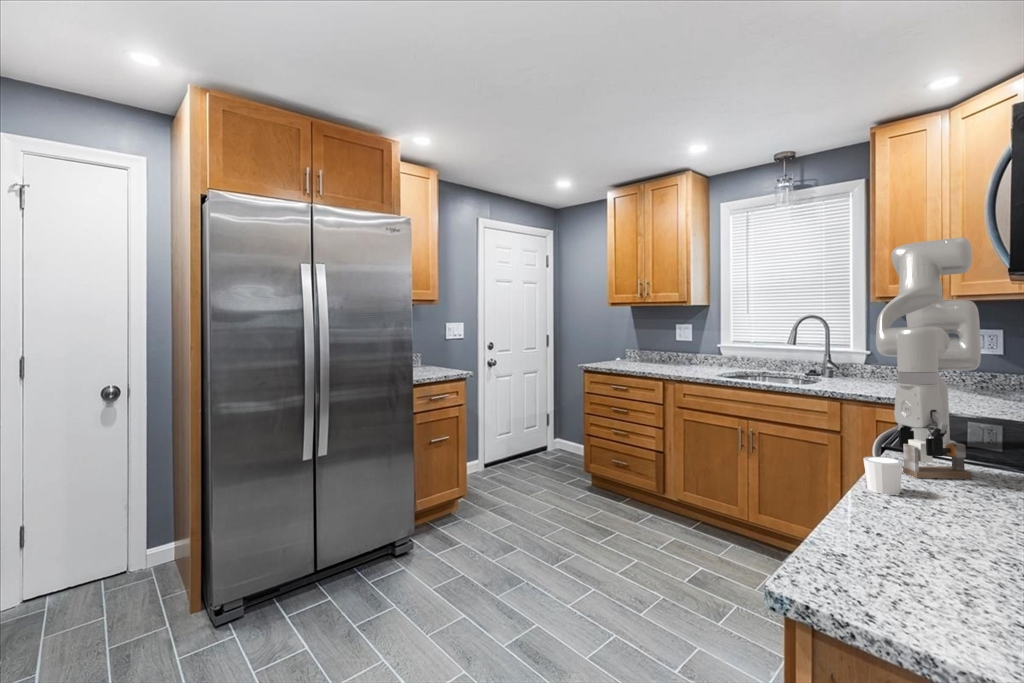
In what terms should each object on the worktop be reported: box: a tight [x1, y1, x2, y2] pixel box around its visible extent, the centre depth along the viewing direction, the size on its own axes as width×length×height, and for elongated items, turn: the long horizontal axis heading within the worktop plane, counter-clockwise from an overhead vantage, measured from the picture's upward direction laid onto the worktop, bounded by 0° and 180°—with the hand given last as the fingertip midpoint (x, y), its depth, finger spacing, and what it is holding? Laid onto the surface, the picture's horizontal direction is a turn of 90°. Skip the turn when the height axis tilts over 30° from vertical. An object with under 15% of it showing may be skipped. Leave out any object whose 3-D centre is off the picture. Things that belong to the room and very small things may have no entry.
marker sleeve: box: [908, 439, 933, 463], centre depth 118 cm, size 4×2×4 cm, turn 172°
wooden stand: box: [902, 442, 972, 480], centre depth 118 cm, size 5×12×8 cm, turn 82°
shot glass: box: [863, 456, 904, 496], centre depth 108 cm, size 7×7×7 cm
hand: (920, 451), depth 118 cm, fingers open, 9 cm apart
